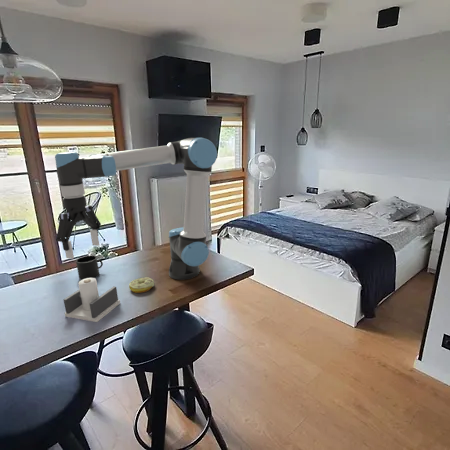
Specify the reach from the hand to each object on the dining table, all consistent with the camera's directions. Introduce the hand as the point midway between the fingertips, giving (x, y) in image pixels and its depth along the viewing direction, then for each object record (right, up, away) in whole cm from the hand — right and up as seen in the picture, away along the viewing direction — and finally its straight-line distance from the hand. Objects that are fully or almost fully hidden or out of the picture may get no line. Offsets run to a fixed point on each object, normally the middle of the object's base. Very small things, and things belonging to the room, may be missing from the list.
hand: (83, 251), depth 120 cm
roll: (+1, -22, +6) cm, 23 cm away
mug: (-13, -15, +38) cm, 43 cm away
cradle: (+1, -24, +6) cm, 25 cm away
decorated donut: (+16, -19, +23) cm, 34 cm away
